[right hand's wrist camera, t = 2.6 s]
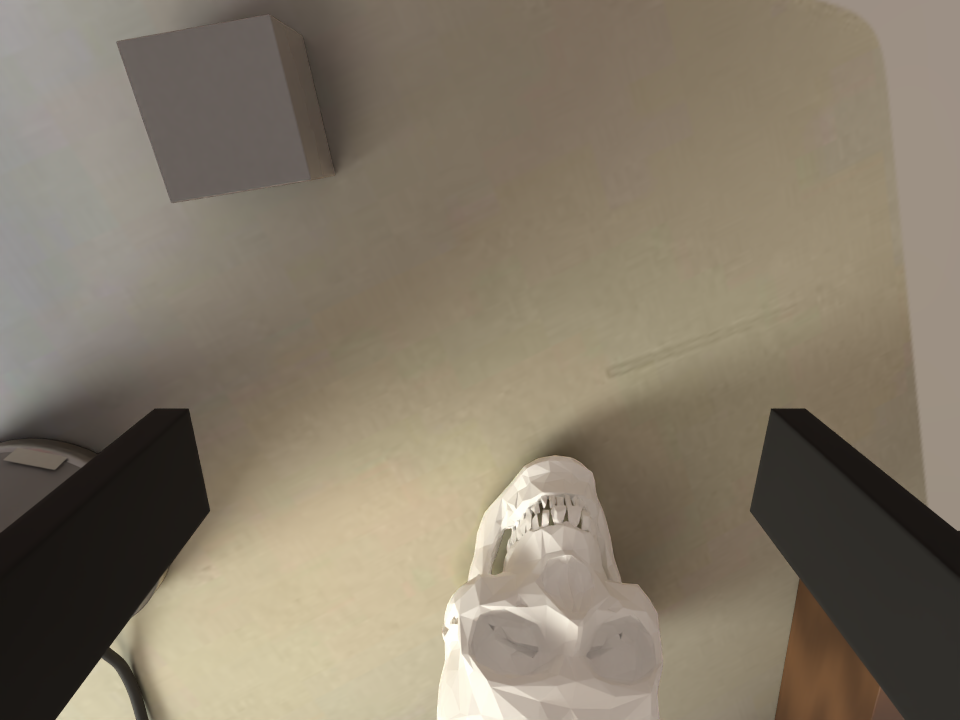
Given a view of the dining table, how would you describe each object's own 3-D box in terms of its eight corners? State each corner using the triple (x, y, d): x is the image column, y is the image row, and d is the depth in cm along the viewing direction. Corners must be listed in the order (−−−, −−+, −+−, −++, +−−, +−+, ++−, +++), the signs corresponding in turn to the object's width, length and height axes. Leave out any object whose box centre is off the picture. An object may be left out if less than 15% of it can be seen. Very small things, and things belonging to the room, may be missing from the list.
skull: (645, 441, 37) (744, 634, 22) (611, 679, 45) (668, 938, 30) (447, 435, 37) (416, 623, 23) (447, 673, 45) (425, 928, 30)
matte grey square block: (335, 175, 31) (311, 180, 27) (215, 195, 32) (170, 203, 27) (302, 35, 29) (269, 13, 24) (172, 58, 29) (115, 41, 24)
